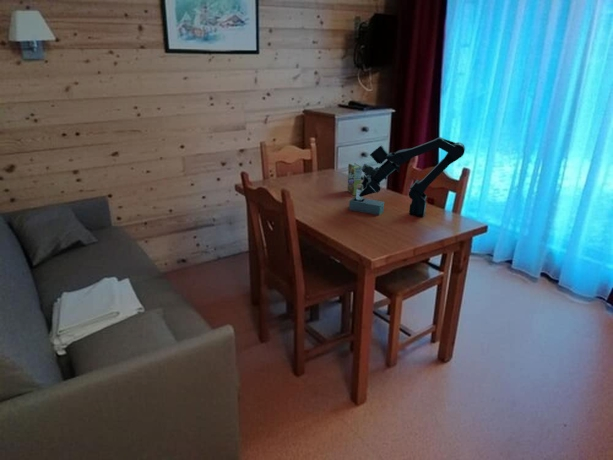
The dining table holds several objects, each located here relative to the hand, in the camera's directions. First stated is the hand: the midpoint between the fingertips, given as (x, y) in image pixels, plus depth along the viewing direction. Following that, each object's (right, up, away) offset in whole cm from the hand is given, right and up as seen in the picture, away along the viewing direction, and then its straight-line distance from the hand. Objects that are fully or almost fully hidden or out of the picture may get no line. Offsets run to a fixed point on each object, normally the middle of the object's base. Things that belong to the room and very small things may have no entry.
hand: (358, 193), depth 216 cm
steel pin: (0, -7, +3) cm, 8 cm away
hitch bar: (+4, -8, +1) cm, 9 cm away
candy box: (0, +2, +27) cm, 27 cm away
